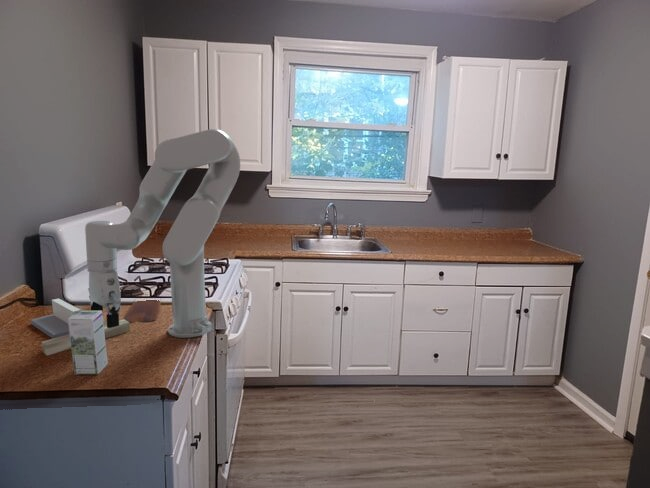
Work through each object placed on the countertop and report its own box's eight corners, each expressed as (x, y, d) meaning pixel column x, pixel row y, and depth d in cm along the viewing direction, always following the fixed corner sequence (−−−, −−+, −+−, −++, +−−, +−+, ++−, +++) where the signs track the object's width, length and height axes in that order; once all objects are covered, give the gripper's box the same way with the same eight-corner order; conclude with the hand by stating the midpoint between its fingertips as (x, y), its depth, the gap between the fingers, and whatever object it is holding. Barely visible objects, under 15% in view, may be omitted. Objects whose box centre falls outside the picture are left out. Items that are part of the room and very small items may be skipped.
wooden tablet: (156, 323, 139) (156, 318, 139) (122, 326, 137) (122, 320, 137) (164, 296, 165) (164, 292, 164) (135, 298, 162) (135, 294, 162)
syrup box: (108, 363, 111) (103, 309, 108) (97, 375, 105) (91, 317, 102) (85, 364, 111) (79, 309, 108) (73, 375, 105) (66, 318, 102)
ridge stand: (104, 325, 135) (102, 305, 134) (54, 339, 125) (51, 318, 123) (79, 312, 147) (77, 293, 145) (31, 324, 136) (28, 304, 135)
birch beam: (130, 332, 132) (129, 322, 131) (47, 356, 115) (45, 345, 115) (125, 329, 134) (124, 319, 133) (43, 353, 117) (41, 341, 117)
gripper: (130, 268, 122) (132, 327, 126) (101, 257, 133) (104, 311, 136) (102, 273, 116) (105, 334, 120) (75, 261, 127) (78, 317, 130)
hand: (105, 322), depth 128 cm, fingers open, 9 cm apart
